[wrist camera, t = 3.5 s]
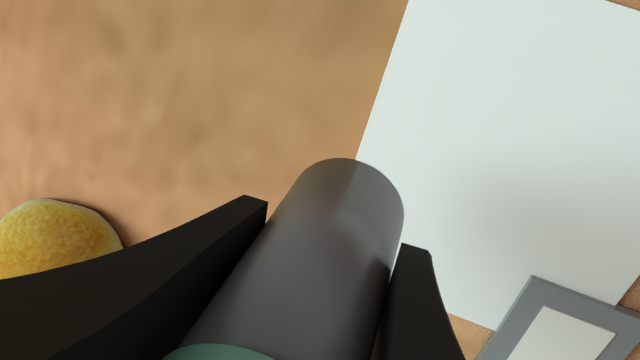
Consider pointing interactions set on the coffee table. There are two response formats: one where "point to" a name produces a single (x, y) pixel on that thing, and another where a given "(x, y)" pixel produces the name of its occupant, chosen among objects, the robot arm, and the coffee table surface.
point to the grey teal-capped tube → (308, 273)
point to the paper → (514, 146)
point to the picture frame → (562, 327)
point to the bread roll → (52, 237)
